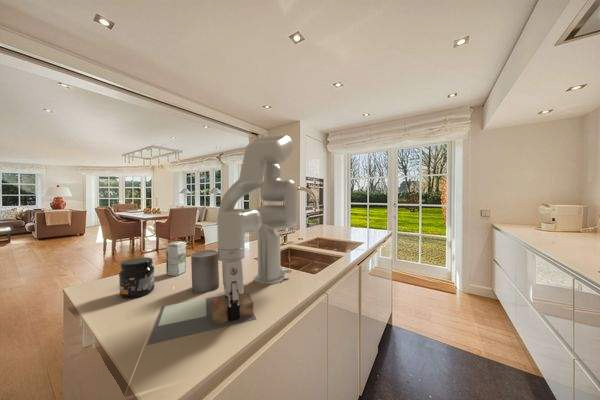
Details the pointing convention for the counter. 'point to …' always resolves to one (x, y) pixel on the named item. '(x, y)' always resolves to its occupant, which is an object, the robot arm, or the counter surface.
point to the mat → (188, 320)
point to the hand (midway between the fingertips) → (232, 312)
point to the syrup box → (175, 258)
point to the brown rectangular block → (222, 308)
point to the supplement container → (136, 277)
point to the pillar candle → (205, 271)
